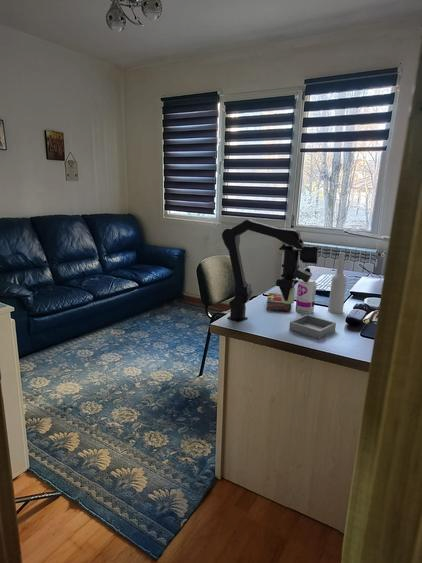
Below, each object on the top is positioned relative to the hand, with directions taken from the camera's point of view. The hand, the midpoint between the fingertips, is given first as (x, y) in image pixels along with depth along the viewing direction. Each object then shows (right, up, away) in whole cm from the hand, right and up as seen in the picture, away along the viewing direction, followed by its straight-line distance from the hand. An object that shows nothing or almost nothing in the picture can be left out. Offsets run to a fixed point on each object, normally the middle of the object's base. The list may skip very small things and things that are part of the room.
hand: (287, 299), depth 146 cm
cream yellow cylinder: (0, -1, 0) cm, 1 cm away
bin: (+10, -13, -1) cm, 16 cm away
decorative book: (+2, -5, +28) cm, 29 cm away
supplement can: (+13, -7, +23) cm, 27 cm away
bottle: (+28, -7, +24) cm, 37 cm away
